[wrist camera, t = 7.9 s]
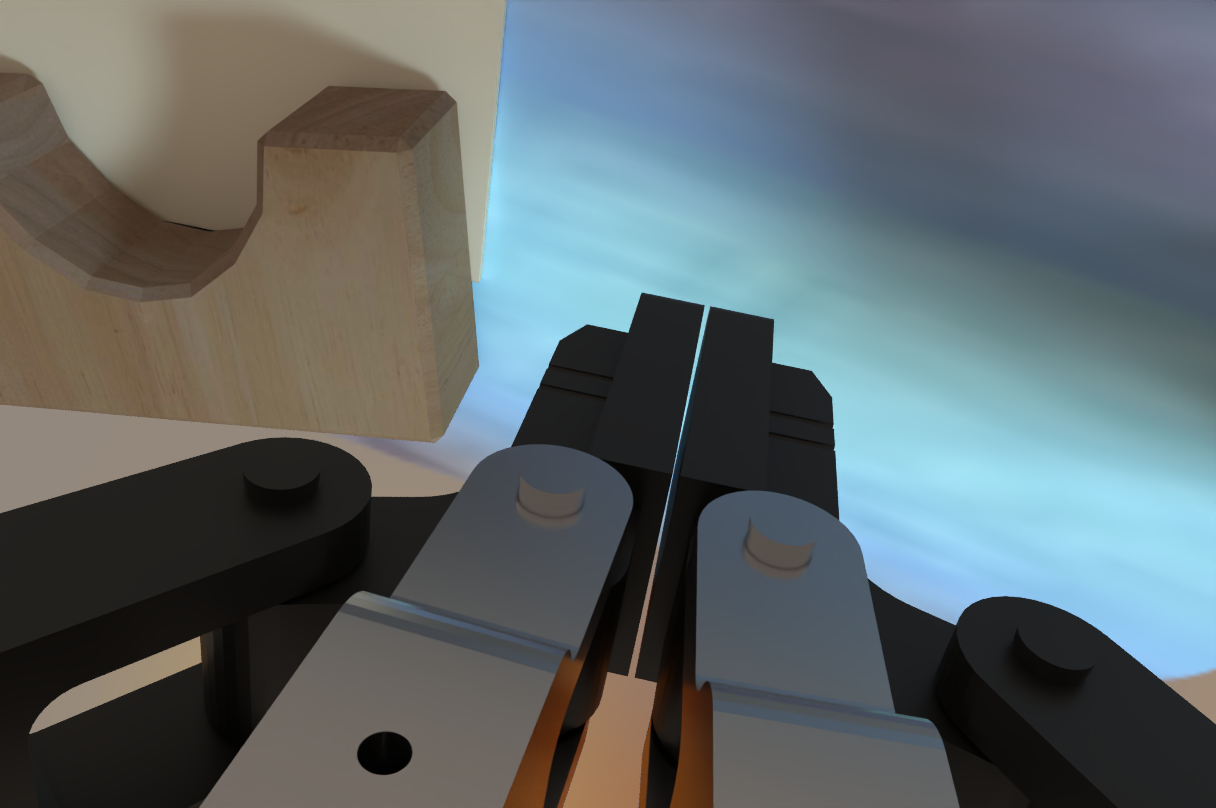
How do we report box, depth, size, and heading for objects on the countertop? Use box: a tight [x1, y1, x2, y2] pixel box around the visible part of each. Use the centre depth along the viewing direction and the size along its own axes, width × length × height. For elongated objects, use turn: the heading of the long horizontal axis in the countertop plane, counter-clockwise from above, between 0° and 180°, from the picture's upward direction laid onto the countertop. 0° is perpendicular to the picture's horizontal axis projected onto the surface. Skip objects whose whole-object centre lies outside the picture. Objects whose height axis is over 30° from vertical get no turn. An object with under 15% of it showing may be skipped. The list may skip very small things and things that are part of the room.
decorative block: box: [0, 73, 479, 443], centre depth 37 cm, size 11×6×20 cm
